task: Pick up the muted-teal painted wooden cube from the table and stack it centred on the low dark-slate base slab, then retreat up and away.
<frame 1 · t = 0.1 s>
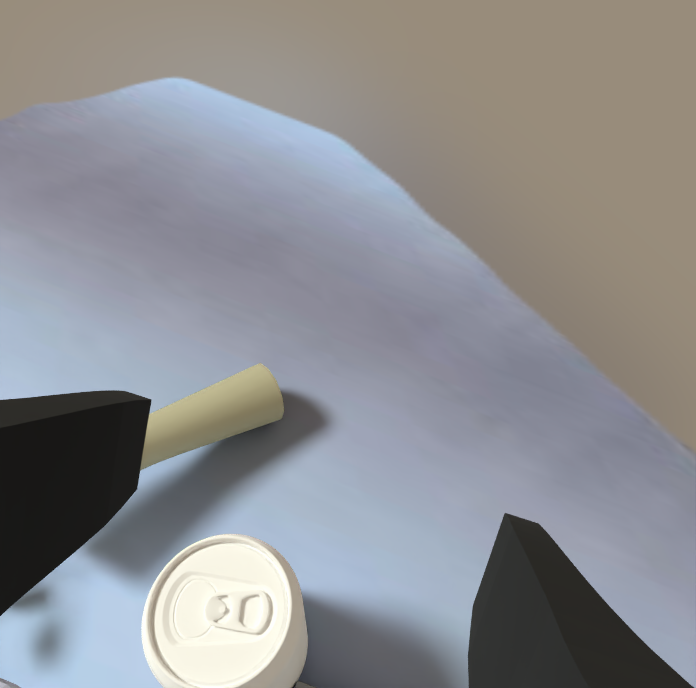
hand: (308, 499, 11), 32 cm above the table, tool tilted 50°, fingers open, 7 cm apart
flower vase: (67, 513, 43), on the table
beverage can: (246, 646, 39), on the table
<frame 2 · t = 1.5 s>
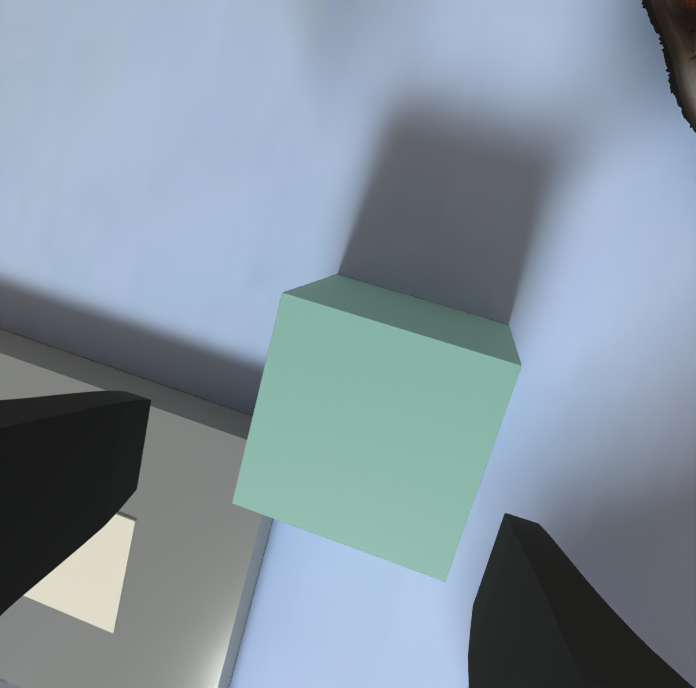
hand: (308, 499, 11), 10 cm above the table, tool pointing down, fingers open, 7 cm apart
slate base: (99, 528, 24), on the table
teal block: (396, 380, 21), on the table
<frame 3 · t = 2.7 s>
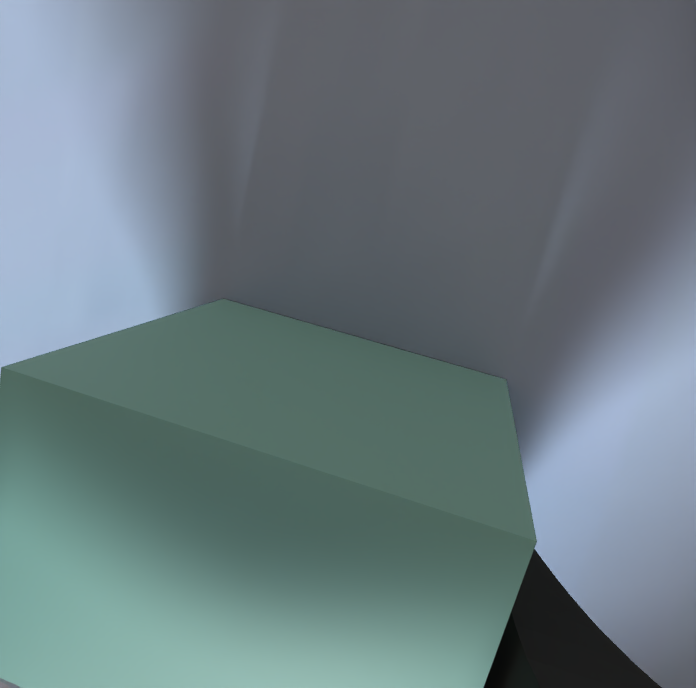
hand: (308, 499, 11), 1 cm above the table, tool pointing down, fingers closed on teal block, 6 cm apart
teal block: (326, 469, 13), on the table, touching gripper
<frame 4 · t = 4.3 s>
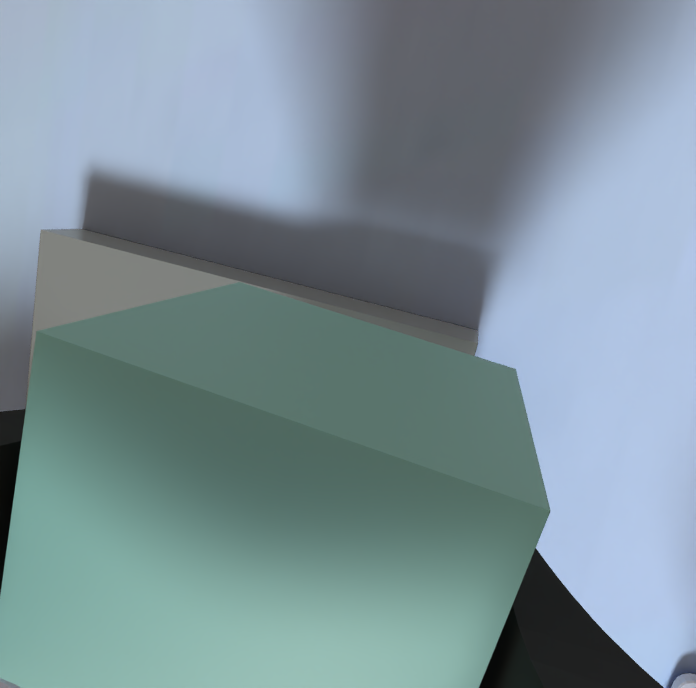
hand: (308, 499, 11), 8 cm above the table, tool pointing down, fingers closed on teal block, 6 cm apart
slate base: (233, 466, 21), on the table
teal block: (335, 452, 13), point 7 cm above the table, touching gripper
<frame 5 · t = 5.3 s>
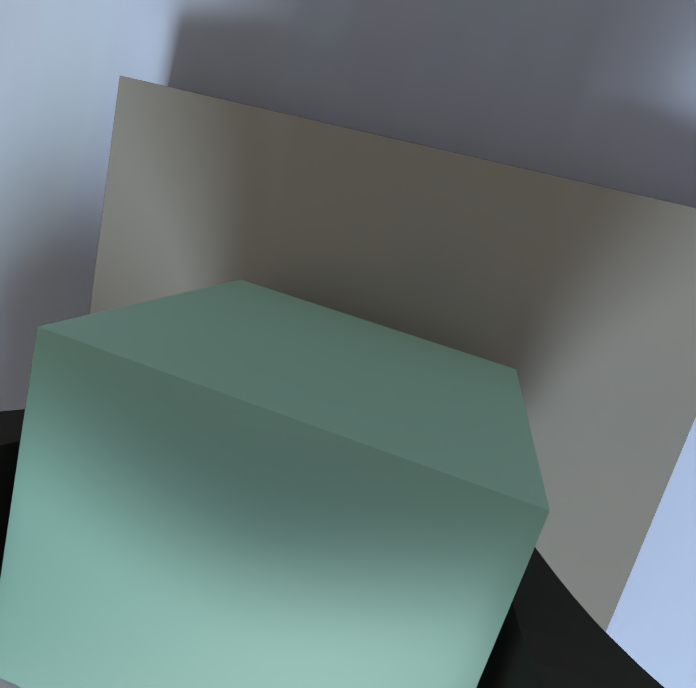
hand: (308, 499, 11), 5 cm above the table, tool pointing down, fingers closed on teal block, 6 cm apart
slate base: (358, 418, 16), on the table
teal block: (334, 451, 13), point 3 cm above the table, touching gripper
when the fingers open (5 cm above the table, at t = 6.0 s): teal block stays where it is, resting on slate base.
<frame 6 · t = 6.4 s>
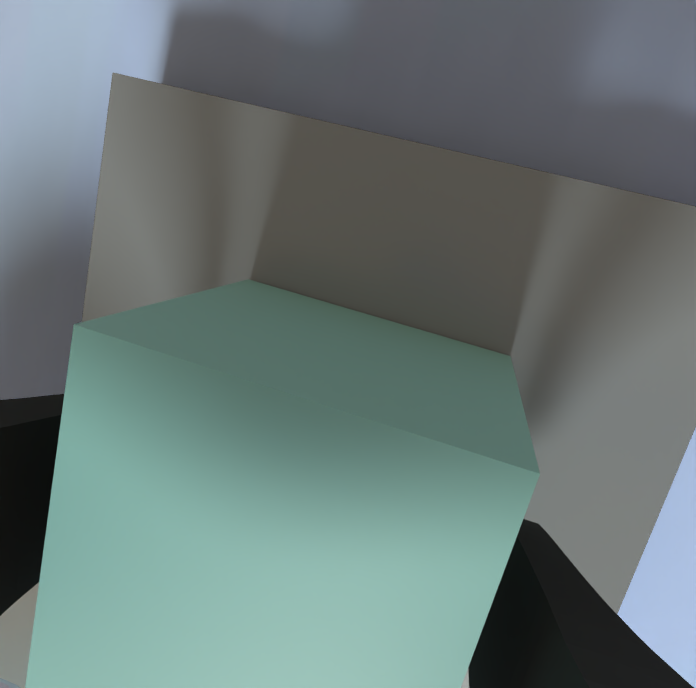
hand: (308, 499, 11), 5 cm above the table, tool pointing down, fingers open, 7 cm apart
beverage can: (55, 644, 20), on the table
slate base: (355, 420, 16), on the table
teal block: (341, 439, 14), point 2 cm above the table, touching slate base
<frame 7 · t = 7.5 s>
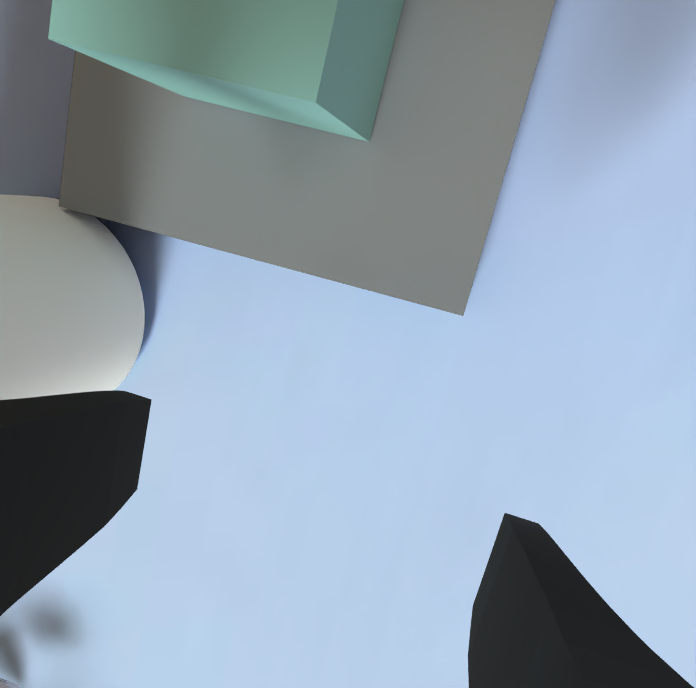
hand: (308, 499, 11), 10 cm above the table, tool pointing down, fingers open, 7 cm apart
beverage can: (63, 302, 23), on the table
slate base: (313, 43, 19), on the table
teal block: (296, 11, 17), point 2 cm above the table, touching slate base
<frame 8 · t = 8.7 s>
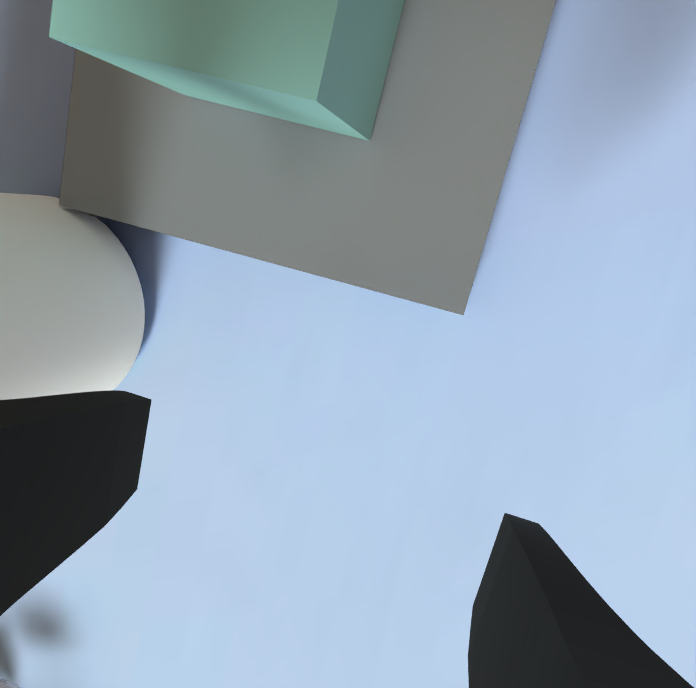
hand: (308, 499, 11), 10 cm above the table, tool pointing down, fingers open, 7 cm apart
beverage can: (64, 301, 23), on the table
slate base: (313, 42, 19), on the table
teal block: (297, 9, 17), point 2 cm above the table, touching slate base
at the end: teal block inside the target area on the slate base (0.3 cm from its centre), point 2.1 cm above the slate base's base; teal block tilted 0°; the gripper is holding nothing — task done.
